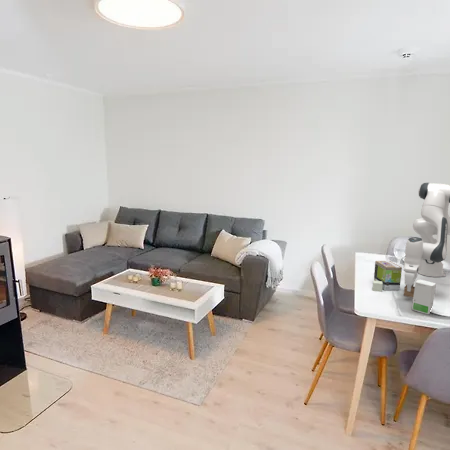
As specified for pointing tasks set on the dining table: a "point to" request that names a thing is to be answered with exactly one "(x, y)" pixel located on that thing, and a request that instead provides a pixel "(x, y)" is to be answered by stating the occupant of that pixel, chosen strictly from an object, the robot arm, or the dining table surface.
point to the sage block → (377, 286)
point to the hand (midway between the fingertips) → (410, 288)
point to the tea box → (388, 274)
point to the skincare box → (423, 296)
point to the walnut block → (407, 293)
